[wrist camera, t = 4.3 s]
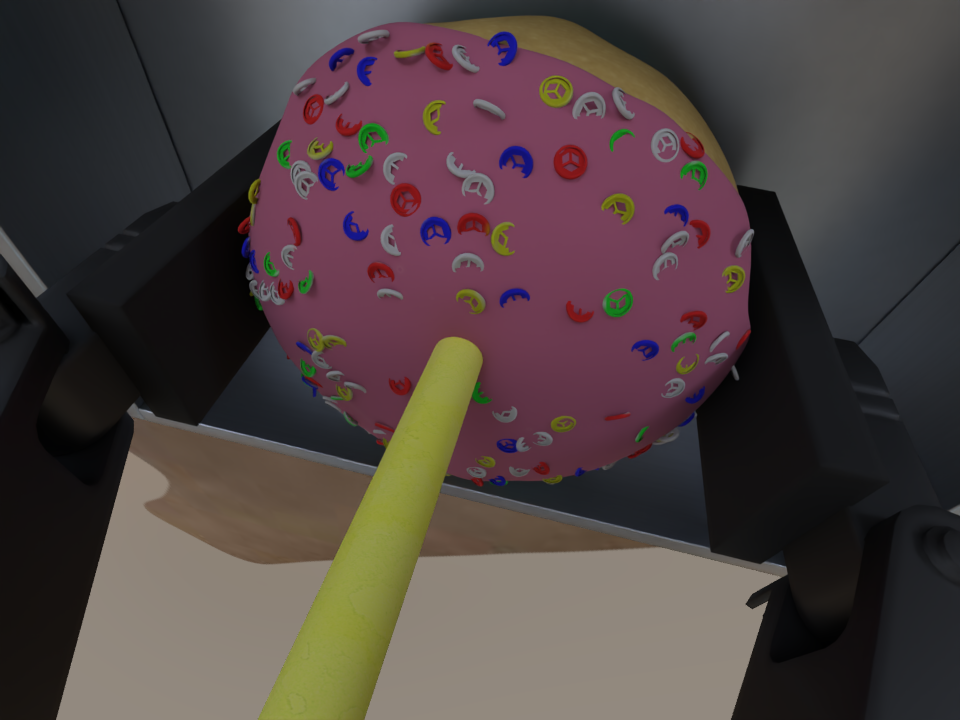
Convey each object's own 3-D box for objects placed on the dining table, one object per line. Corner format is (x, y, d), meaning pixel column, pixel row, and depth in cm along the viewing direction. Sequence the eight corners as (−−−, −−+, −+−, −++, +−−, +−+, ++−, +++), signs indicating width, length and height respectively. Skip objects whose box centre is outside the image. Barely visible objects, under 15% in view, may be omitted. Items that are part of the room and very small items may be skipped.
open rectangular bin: (1418, -188, 6) (2573, -219, 2) (787, 424, 16) (831, 589, 13) (-37, -365, 7) (-654, -549, 4) (229, 299, 18) (127, 416, 14)
